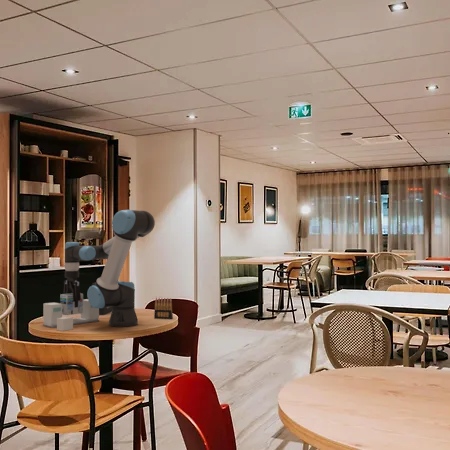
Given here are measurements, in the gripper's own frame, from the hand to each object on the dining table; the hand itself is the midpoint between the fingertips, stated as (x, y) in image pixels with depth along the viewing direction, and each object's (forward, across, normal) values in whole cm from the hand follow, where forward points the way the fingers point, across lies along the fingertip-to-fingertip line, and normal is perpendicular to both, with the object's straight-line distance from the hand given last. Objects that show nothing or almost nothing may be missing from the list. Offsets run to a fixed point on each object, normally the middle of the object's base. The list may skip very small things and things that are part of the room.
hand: (71, 312), depth 279 cm
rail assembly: (+6, 0, 0) cm, 6 cm away
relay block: (+6, -15, +12) cm, 20 cm away
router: (+6, +21, -32) cm, 39 cm away
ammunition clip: (+6, -24, -44) cm, 51 cm away
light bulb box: (+1, 0, 0) cm, 1 cm away
